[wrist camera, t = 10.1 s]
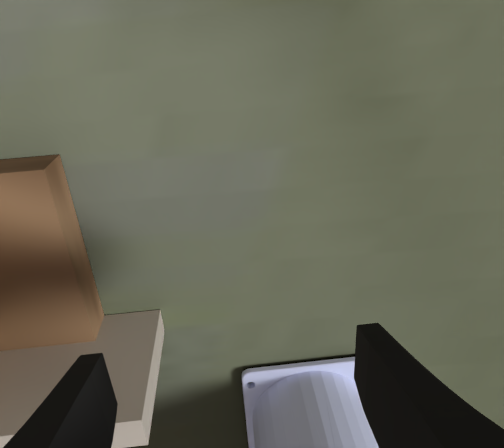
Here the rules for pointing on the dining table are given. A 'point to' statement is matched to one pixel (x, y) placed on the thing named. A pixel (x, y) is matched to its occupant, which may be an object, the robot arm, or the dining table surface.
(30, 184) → the brown rectangular panel
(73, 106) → the dining table surface
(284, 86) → the dining table surface
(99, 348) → the shelf board
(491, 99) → the dining table surface
